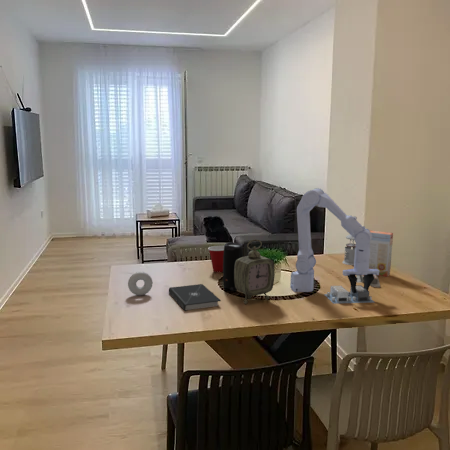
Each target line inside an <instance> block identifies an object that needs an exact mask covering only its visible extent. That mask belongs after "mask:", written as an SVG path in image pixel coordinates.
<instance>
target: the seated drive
mask: <svg viewBox="0 0 450 450" xmlns="http://www.w3.org/2000/svg"><path fill="white" fill-rule="evenodd" d="M349 292H350V291H348V290H347V289H346V288H344V287H343V286H342V285H330V296H331V297H335V301H336V302H348V294H349Z"/></svg>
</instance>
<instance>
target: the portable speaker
mask: <svg viewBox="0 0 450 450" xmlns="http://www.w3.org/2000/svg"><path fill="white" fill-rule="evenodd" d="M223 246H224V254H223V272H222V280H223V281H222V282H223V289H225V290H226V289H229V290H230V291H232V292H237V290H236V287H235V282H234V268H235V262H236V260H237V259H239V258H241V257H244V250H243V249H244V246H243V243H235V242H226V243H225V244H224V245H223Z"/></svg>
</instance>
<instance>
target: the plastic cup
mask: <svg viewBox="0 0 450 450" xmlns="http://www.w3.org/2000/svg"><path fill="white" fill-rule="evenodd" d="M224 246H225V245H214V246H212V245H211V246H209V247H208V248H207V250H208V251H209V255H210V260H211V261H210V263H211V265H212V271H213V272H215V273H223V254H224Z"/></svg>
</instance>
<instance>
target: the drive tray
mask: <svg viewBox="0 0 450 450" xmlns="http://www.w3.org/2000/svg"><path fill="white" fill-rule="evenodd" d="M348 292H349V294H348V302H336V301H335V297H331V296H330V292H329V291H328V292H326V293H324V294H323V295H324V296H325V297H326V298H327V299H328V301H330V302H331V303H332V304H335V305H336V304H361V303H362V304H365V303H366V304H367V303H375V301H374V300H373V299H372V296H371V295H369V301H359V302H358V301H357V300H356V297H352V296H351V295H350V291H348Z"/></svg>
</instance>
